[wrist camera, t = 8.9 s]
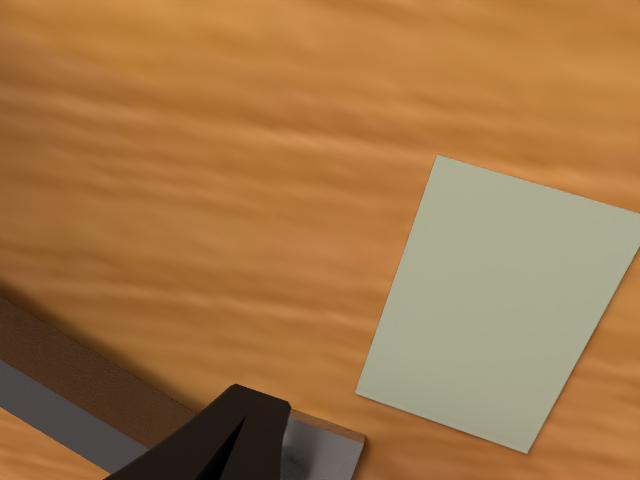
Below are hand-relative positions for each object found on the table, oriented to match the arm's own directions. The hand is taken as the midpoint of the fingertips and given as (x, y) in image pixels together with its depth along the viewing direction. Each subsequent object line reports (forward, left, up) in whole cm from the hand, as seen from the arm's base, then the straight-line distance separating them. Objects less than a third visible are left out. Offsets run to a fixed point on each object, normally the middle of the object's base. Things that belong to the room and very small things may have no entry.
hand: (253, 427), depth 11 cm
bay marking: (+1, -6, -8) cm, 10 cm away
